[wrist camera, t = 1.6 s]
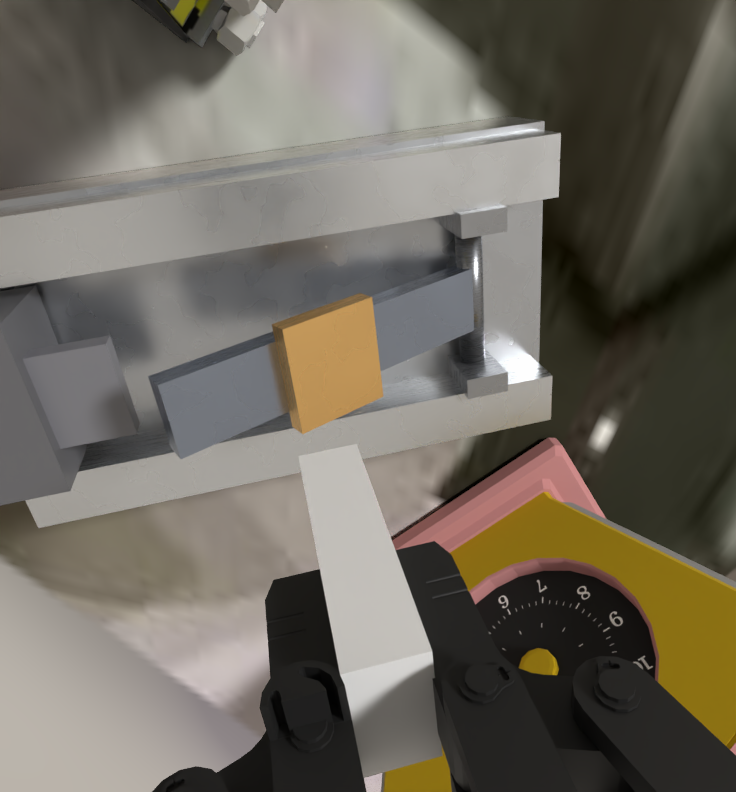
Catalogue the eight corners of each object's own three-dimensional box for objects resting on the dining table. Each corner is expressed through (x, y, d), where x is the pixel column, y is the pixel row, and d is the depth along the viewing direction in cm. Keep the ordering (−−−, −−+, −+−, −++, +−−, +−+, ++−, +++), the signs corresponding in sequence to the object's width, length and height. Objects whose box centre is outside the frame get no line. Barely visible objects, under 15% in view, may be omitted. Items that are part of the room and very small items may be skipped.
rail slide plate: (-50, 196, 27) (-130, 230, 21) (507, 116, 30) (578, 125, 24) (62, 458, 34) (25, 541, 28) (508, 369, 37) (564, 426, 31)
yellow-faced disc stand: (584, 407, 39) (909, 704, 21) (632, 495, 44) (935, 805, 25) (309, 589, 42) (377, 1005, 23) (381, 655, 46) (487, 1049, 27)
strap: (132, 330, 20) (151, 345, 19) (468, 222, 28) (499, 228, 26) (181, 484, 23) (201, 506, 22) (472, 350, 31) (500, 360, 30)
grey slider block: (-41, 298, 25) (-94, 341, 21) (110, 273, 26) (87, 310, 22) (26, 445, 28) (-8, 507, 24) (157, 419, 29) (146, 475, 25)
